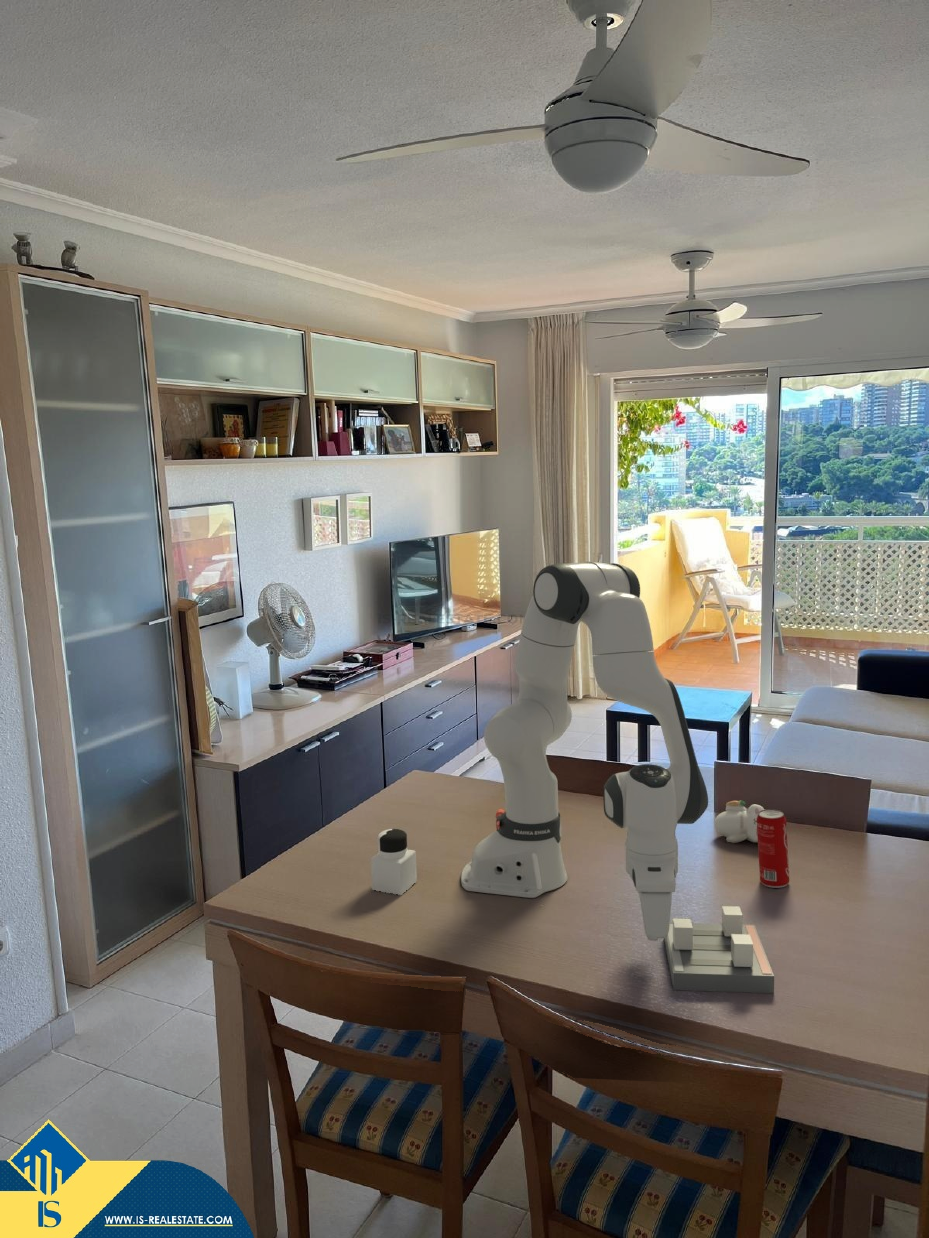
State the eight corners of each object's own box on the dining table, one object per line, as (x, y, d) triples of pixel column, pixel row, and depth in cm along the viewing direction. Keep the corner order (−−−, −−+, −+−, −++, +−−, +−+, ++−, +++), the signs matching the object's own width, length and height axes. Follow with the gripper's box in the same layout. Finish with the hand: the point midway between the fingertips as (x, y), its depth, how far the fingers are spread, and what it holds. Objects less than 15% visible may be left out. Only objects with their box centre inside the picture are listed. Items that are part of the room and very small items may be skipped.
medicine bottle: (417, 881, 194) (415, 828, 192) (401, 896, 188) (398, 840, 186) (388, 876, 197) (385, 823, 195) (371, 890, 191) (368, 836, 189)
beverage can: (791, 889, 184) (792, 819, 181) (757, 888, 185) (758, 817, 183) (787, 877, 189) (788, 808, 187) (754, 875, 191) (755, 807, 188)
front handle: (734, 966, 150) (734, 943, 150) (731, 956, 153) (731, 933, 153) (752, 966, 150) (753, 944, 149) (749, 956, 153) (749, 934, 152)
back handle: (724, 935, 160) (724, 914, 159) (721, 927, 163) (722, 906, 163) (742, 936, 160) (742, 915, 159) (739, 927, 163) (739, 906, 162)
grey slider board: (673, 989, 150) (673, 972, 150) (664, 937, 167) (663, 922, 166) (774, 993, 148) (774, 975, 148) (754, 940, 165) (754, 924, 164)
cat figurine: (710, 798, 210) (778, 797, 204) (717, 805, 217) (783, 805, 211) (711, 840, 207) (780, 841, 200) (718, 846, 213) (785, 847, 207)
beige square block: (674, 949, 156) (674, 927, 156) (672, 939, 159) (672, 918, 159) (692, 949, 156) (692, 927, 155) (690, 940, 159) (690, 918, 158)
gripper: (629, 836, 167) (630, 907, 169) (636, 886, 147) (637, 966, 149) (664, 837, 166) (664, 908, 168) (676, 887, 146) (677, 967, 148)
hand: (652, 936), depth 158 cm, fingers closed
